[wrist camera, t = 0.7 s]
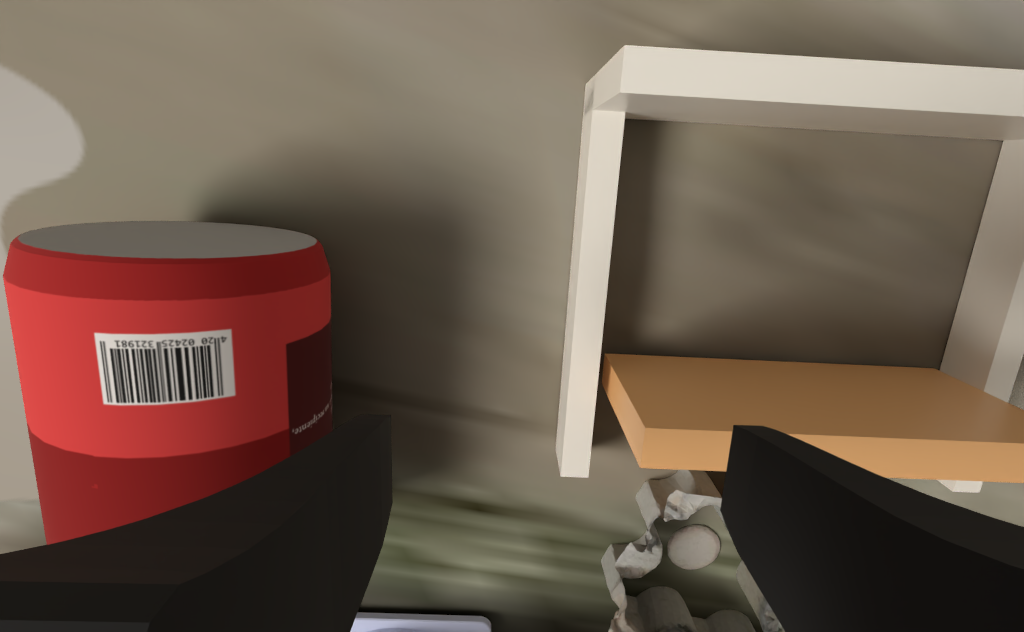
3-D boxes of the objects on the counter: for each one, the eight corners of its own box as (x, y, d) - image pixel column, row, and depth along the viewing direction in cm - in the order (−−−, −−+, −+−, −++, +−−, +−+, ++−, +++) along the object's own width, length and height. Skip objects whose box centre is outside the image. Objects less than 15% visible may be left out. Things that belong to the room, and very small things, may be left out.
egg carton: (577, 575, 24) (591, 656, 20) (664, 433, 22) (699, 492, 18) (782, 658, 25) (834, 751, 21) (880, 532, 23) (956, 607, 19)
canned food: (-81, 230, 13) (-4, 603, 16) (159, 277, 11) (199, 708, 14) (196, 214, 20) (215, 476, 23) (380, 240, 18) (376, 530, 21)
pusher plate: (925, 397, 21) (1087, 485, 15) (601, 383, 21) (640, 467, 15) (933, 368, 21) (1102, 446, 15) (604, 353, 20) (645, 427, 14)
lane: (937, 464, 22) (1092, 569, 16) (555, 449, 22) (575, 551, 16) (1040, 111, 18) (1284, 86, 13) (585, 84, 18) (624, 45, 12)
